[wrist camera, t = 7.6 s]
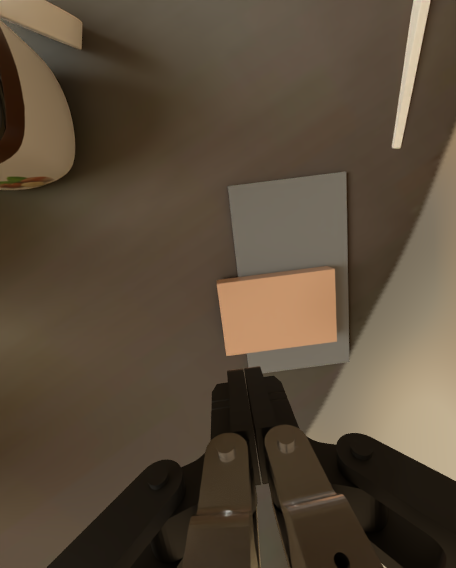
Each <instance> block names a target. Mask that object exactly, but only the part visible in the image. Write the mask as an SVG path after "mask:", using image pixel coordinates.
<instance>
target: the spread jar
mask: <svg viewBox="0 0 456 568" xmlns="http://www.w3.org/2000/svg"><path fill="white" fill-rule="evenodd" d="M0 18H1V19H4V20H6V21H8V22H11V23H13V24H16V25H18V26H21V27H23V28H26V29H28V30H31V31H33V32H36V33H38V34H41V35H43V36H46V37H48V38H51V39H53V40H56V41H58V42H61V43H63V44H66V45H68V46H71V47H74V48H77V49H80V50H81V49H82V22H81V21H80V20H79V19H78V18H76V17H74V16H73V15H71V14H70V13H68V12H66V11H64V10H62V9H61V8H59V7H57V6H55V5H53V4H51V3H49V2H47V1H45V0H0ZM74 158H75V134H74V127H73V122H72V117H71V113H70V110H69V106H68V103H67V101H66V98H65V95H64V93H63V91H62V89H61V86H60V84H59V83H58V81H57V79H56V77H55V76H54V74H53V72H52V71H51V69H50V68H49V67H48V66H47V64H46V63H45V62H44V61H43V60H42V58H41V57H40V56H39V55H38V54H37V53H36V52H35V51H34V50H33V49H32V48H31V47H29V46H28V45H27V44H26V43H25V42H24V41H23V40H22V39H21V38H20V37H19V36H18V35H16V34H15V33H14V32H13V31H12V30H11V29H10V28H9V27H8V26H7V25H5V24H4V23H3V22H2V21H1V20H0V190H24V189H33V188H38V187H42V186H45V185H48V184H50V183H53V182H55V181H57V180H59V179H61V178H62V177H63V176H65V175H66V174H67V173H68V172H69V171H70V169H71V167H72V165H73V162H74Z"/></svg>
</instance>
